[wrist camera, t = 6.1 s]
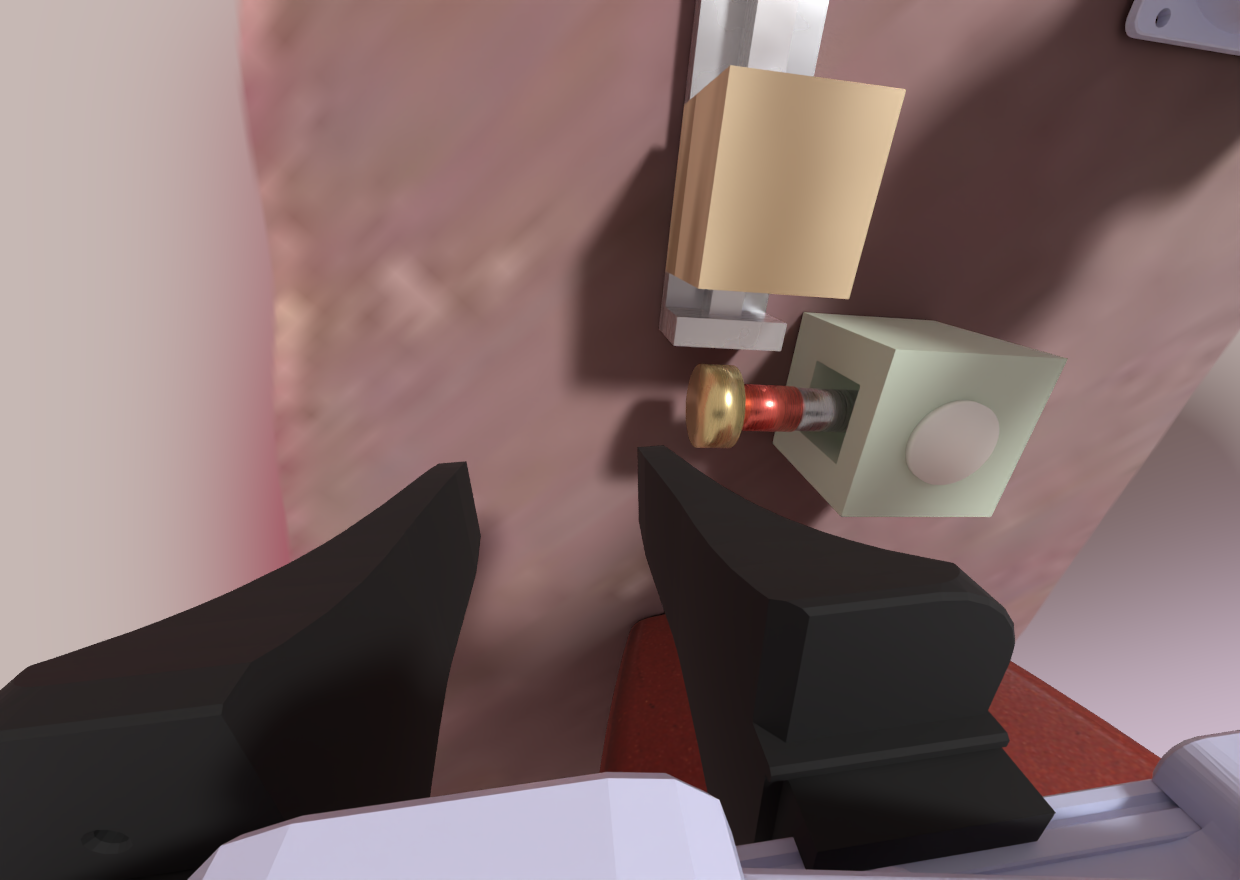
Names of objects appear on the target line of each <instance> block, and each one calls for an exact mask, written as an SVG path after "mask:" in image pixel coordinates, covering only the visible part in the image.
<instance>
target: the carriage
mask: <svg viewBox="0 0 1240 880" xmlns="http://www.w3.org/2000/svg"><path fill="white" fill-rule="evenodd" d="M905 92H906V89H900V88H892V87H885V86H878V85H871V84H863V83H856V82H849V81H842V80H835V79H827V78H820V77H813V76H806V75H798V74H791V73H784V72H777V71H769V70H762V69H755V68H748V67H740V66H733V65H730V66H729V67H728V68H726V69H725V70H724V71H723V72H722V73H721V74H719V75H718V76H717V77H716V78H715V79H714V80H712V81H711V82H710V83H709V84H708V85H707V86H705V87H704V88H703V89H702V90H701V91H700V92H698V93H697V94H696V95H695V96H694V97H693V98H691V99H690V100H689V101H688V102H687V103H686V104H684V112H683V120H682V129H681V138H680V147H679V156H678V164H677V173H676V182H675V191H674V199H673V208H672V217H671V226H670V235H669V243H668V252H667V261H666V270H665V271H666V272H668V273H670V274H672V275H674V276H676V277H677V278H679V279H681V280H683V281H685V282H687V283H689V284H690V285H692V286H694V287H696V288H698V289H710V290H724V291H738V292H753V293H767V294H782V295H796V296H811V297H825V298H839V299H849V297H850V293H851V290H852V286H853V282H854V279H855V275H856V271H857V268H858V264H859V260H860V257H861V253H862V249H863V246H864V242H865V238H866V235H867V231H868V227H869V224H870V220H871V216H872V213H873V209H874V205H875V202H876V198H877V194H878V191H879V187H880V183H881V180H882V176H883V173H884V169H885V165H886V162H887V158H888V154H889V151H890V147H891V143H892V140H893V136H894V132H895V129H896V125H897V121H898V118H899V114H900V110H901V107H902V103H903V99H904V96H905Z"/></svg>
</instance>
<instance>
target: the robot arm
mask: <svg viewBox="0 0 1240 880" xmlns="http://www.w3.org/2000/svg"><path fill="white" fill-rule="evenodd" d="M1157 16H1158V20H1157V23H1155V21H1156V17H1157ZM1125 31H1126V33H1127V35H1128V36H1129V37H1131V38H1136V39H1142V40H1148V41H1154V42H1160V43H1166V44H1172V45H1178V46H1184V47H1190V48H1196V49H1202V50H1208V51H1214V52H1220V53H1226V54H1232V55H1238V56H1240V0H1134V2H1133V5H1132V7H1131V10H1130V12H1129V14H1128V17H1127V20H1126V23H1125ZM638 502H639V524H640V529H641V534H642V540H643V545H644V550H645V555H646V558H647V561H648V564H649V567H650V570H651V573H652V576H653V579H654V582H655V585H656V588H657V591H658V594H659V597H660V600H661V603H662V606H663V609H664V612H665V615H666V618H667V621H668V623H669V626H670V629H671V632H672V635H673V639H674V642H675V646H676V649H677V653H678V657H679V661H680V666H681V670H682V675H683V679H684V683H685V688H686V692H687V697H688V701H689V706H690V711H691V715H692V720H693V725H694V729H695V734H696V739H697V743H698V748H699V753H700V758H701V763H702V768H703V773H704V778H705V783H706V788H707V792H705V791H703V790H701V789H698V788H696V787H694V786H692V785H690V784H688V783H686V782H683V781H681V780H679V779H677V778H675V777H673V776H671V775H669V774H666V773H635V772H603V773H596V774H590V775H583V776H576V777H569V778H562V779H555V780H548V781H541V782H534V783H527V784H520V785H513V786H506V787H499V788H492V789H485V790H478V791H471V792H464V793H457V794H450V795H443V796H436V797H430V793H431V785H432V778H433V771H434V764H435V757H436V750H437V743H438V736H439V729H440V723H441V717H442V711H443V705H444V699H445V693H446V687H447V681H448V677H449V672H450V668H451V663H452V659H453V656H454V652H455V648H456V645H457V641H458V638H459V634H460V630H461V627H462V623H463V620H464V616H465V612H466V609H467V605H468V601H469V598H470V594H471V590H472V587H473V583H474V579H475V575H476V570H477V562H478V555H479V546H480V537H481V534H480V529H479V524H478V519H477V514H476V509H475V504H474V498H473V493H472V488H471V483H470V478H469V473H468V468H467V462H454V463H441V464H437V465H436V466H434V467H433V468H431V469H430V470H428V471H427V472H425V473H424V474H423V475H421V476H420V477H419V478H417V479H416V480H415V481H413V482H412V483H411V484H410V485H408V486H407V487H406V488H404V489H403V490H402V491H400V492H399V493H398V494H396V495H395V496H394V497H392V498H391V499H390V500H388V501H387V502H386V503H384V504H383V505H382V506H380V507H379V508H377V509H376V510H374V511H373V512H372V513H370V514H369V515H367V516H366V517H364V518H363V519H361V520H360V521H358V522H357V523H356V524H354V525H353V526H351V527H350V528H348V529H347V530H345V531H344V532H342V533H341V534H339V535H337V536H336V537H334V538H333V539H331V540H329V541H328V542H326V543H324V544H323V545H321V546H319V547H317V548H316V549H314V550H312V551H310V552H309V553H307V554H305V555H303V556H302V557H300V558H298V559H296V560H294V561H292V562H291V563H289V564H287V565H285V566H283V567H281V568H279V569H277V570H275V571H272V572H270V573H268V574H266V575H264V576H262V577H260V578H258V579H256V580H254V581H252V582H250V583H248V584H246V585H244V586H242V587H239V588H237V589H235V590H233V591H231V592H229V593H226V594H224V595H222V596H220V597H217V598H215V599H213V600H210V601H208V602H205V603H203V604H201V605H198V606H196V607H194V608H191V609H189V610H186V611H184V612H181V613H179V614H176V615H174V616H171V617H169V618H166V619H163V620H161V621H159V622H156V623H153V624H151V625H148V626H145V627H143V628H140V629H137V630H135V631H132V632H129V633H126V634H123V635H120V636H117V637H114V638H111V639H108V640H106V641H103V642H100V643H97V644H94V645H91V646H88V647H85V648H82V649H79V650H77V651H73V652H71V653H68V654H65V655H62V656H59V657H56V658H53V659H50V660H47V661H44V662H40V663H37V664H34V665H31V666H29V667H27V668H26V669H24V670H23V671H22V672H21V673H19V674H18V675H17V676H16V677H15V678H14V679H13V680H11V681H10V682H9V683H8V684H7V685H6V686H5V687H4V688H2V689H1V690H0V880H1240V730H1236V731H1230V732H1223V733H1218V734H1211V735H1204V736H1197V737H1194V738H1191V739H1188V740H1184V741H1183V742H1181V743H1179V744H1177V745H1176V746H1174V747H1172V748H1171V749H1170V750H1169V751H1168V752H1167V753H1166V754H1165V755H1164V756H1163V757H1162V758H1161V760H1160V761H1159V762H1158V764H1157V766H1156V767H1155V769H1154V771H1153V777H1152V779H1147V780H1141V781H1135V782H1129V783H1122V784H1116V785H1110V786H1104V787H1098V788H1092V789H1085V790H1079V791H1073V792H1067V793H1061V794H1055V795H1048V796H1042V795H1041V794H1040V793H1039V792H1038V790H1037V789H1036V788H1035V787H1034V786H1033V784H1032V783H1031V782H1030V781H1029V780H1028V778H1027V777H1026V776H1025V775H1024V774H1023V772H1022V771H1021V770H1020V769H1019V768H1018V766H1017V765H1016V764H1015V763H1014V762H1013V760H1012V759H1011V758H1010V757H1009V756H1008V754H1007V753H1006V752H1005V751H1004V750H1003V748H1002V747H1007V745H1008V743H1009V741H1010V740H1009V736H1008V733H1007V732H1006V730H1005V729H1004V728H1003V727H1002V726H1001V725H1000V723H999V722H998V721H997V720H996V719H995V718H994V717H993V715H992V714H991V713H990V712H989V711H988V709H989V707H990V705H991V703H992V701H993V698H994V696H995V694H996V692H997V690H998V688H999V685H1000V683H1001V681H1002V679H1003V677H1004V674H1005V672H1006V670H1007V668H1008V666H1009V663H1010V659H1011V656H1012V653H1013V649H1014V645H1015V635H1014V623H1013V621H1012V620H1011V618H1010V616H1009V615H1008V613H1007V611H1006V609H1005V608H1004V607H1003V606H1002V605H1001V604H999V603H998V602H997V601H996V600H995V599H994V598H993V597H991V596H990V595H989V594H988V593H987V592H986V591H985V590H984V589H982V588H981V587H980V586H979V585H978V584H977V583H976V582H975V581H973V580H972V579H971V578H970V577H969V576H968V575H967V574H966V573H964V572H963V571H962V570H961V569H960V568H959V567H958V566H957V565H955V564H954V563H950V562H945V561H940V560H935V559H930V558H925V557H920V556H915V555H910V554H905V553H900V552H895V551H890V550H885V549H881V548H877V547H874V546H870V545H866V544H862V543H859V542H855V541H851V540H847V539H844V538H841V537H838V536H834V535H831V534H828V533H825V532H822V531H819V530H816V529H813V528H811V527H808V526H805V525H802V524H800V523H797V522H794V521H792V520H789V519H787V518H784V517H782V516H779V515H777V514H775V513H773V512H771V511H769V510H766V509H764V508H762V507H760V506H758V505H756V504H754V503H752V502H750V501H748V500H746V499H744V498H742V497H740V496H739V495H737V494H735V493H734V492H732V491H730V490H728V489H727V488H725V487H723V486H722V485H720V484H718V483H717V482H715V481H714V480H712V479H711V478H709V477H708V476H706V475H705V474H703V473H702V472H700V471H699V470H697V469H696V468H694V467H693V466H692V465H690V464H689V463H687V462H686V461H685V460H683V459H682V458H681V457H679V456H678V455H677V454H675V453H674V452H672V451H671V450H670V449H668V448H667V447H665V446H663V445H662V446H650V447H638Z"/></svg>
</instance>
